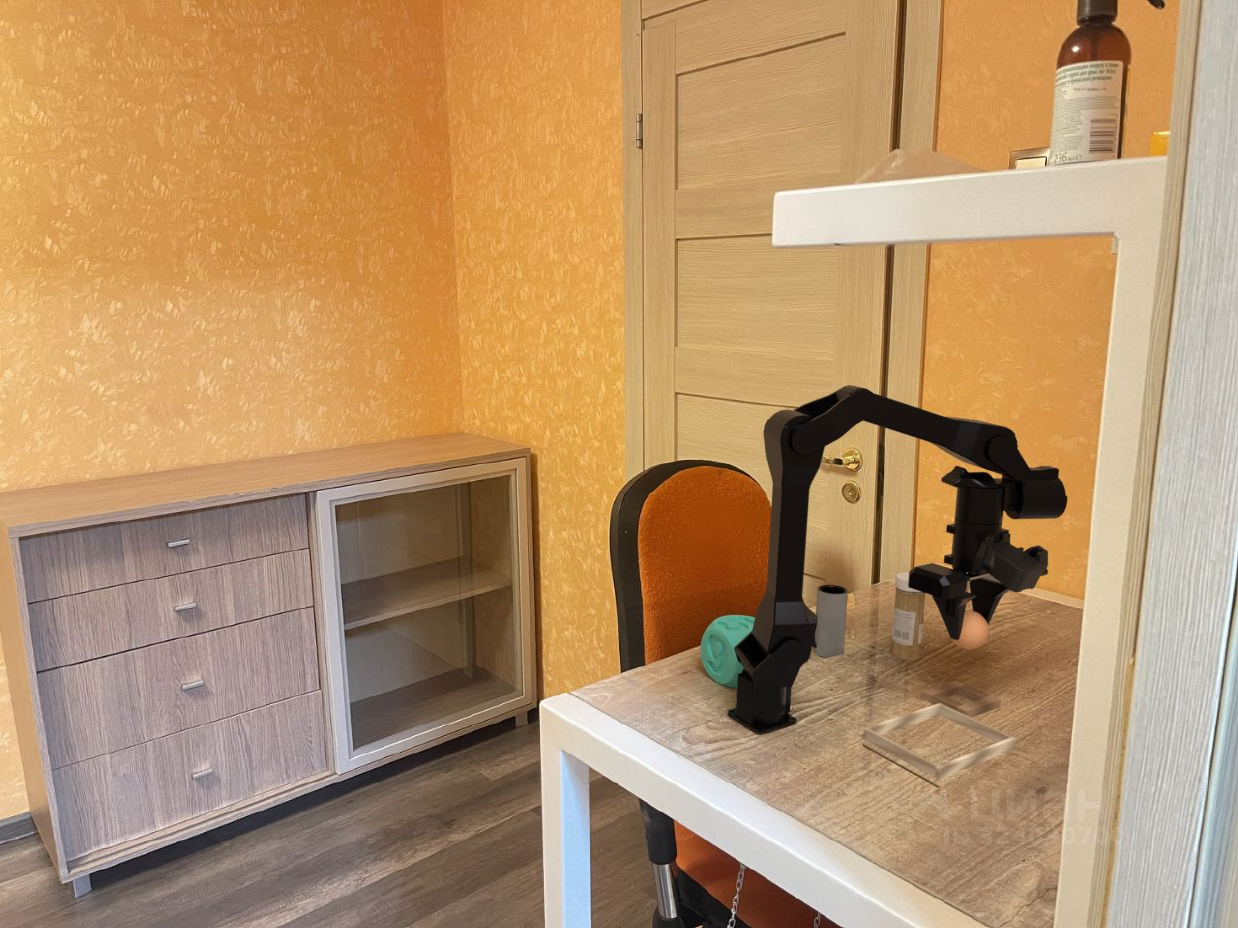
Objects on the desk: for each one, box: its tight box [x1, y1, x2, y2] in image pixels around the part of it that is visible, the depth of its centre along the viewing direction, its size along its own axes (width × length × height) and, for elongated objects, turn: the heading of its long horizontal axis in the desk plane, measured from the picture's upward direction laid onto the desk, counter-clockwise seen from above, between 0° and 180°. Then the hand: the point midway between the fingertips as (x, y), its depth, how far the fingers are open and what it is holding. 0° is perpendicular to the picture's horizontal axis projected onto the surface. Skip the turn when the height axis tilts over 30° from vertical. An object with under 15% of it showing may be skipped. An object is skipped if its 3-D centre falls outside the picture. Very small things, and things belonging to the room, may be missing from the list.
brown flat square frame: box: [921, 680, 1002, 718], centre depth 118 cm, size 7×7×2 cm
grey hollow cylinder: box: [813, 584, 849, 659], centre depth 136 cm, size 4×4×10 cm
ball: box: [950, 609, 990, 650], centre depth 116 cm, size 5×5×5 cm
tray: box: [862, 703, 1018, 789], centre depth 107 cm, size 14×11×2 cm
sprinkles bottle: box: [891, 571, 926, 661], centre depth 133 cm, size 5×5×13 cm
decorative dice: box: [700, 614, 755, 689], centre depth 127 cm, size 8×8×8 cm
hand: (967, 635), depth 116 cm, fingers closed on ball, 5 cm apart
